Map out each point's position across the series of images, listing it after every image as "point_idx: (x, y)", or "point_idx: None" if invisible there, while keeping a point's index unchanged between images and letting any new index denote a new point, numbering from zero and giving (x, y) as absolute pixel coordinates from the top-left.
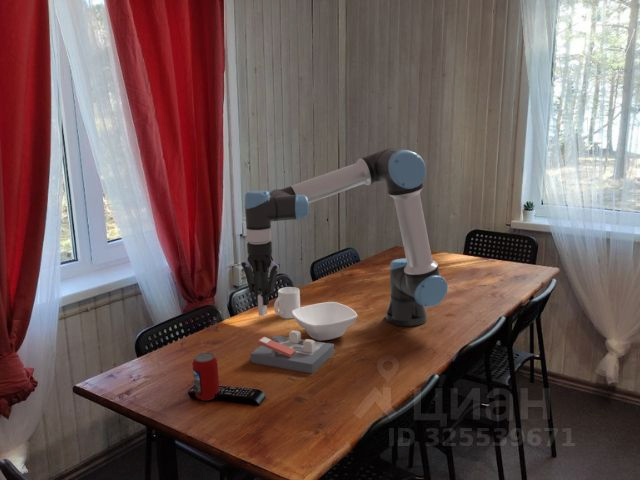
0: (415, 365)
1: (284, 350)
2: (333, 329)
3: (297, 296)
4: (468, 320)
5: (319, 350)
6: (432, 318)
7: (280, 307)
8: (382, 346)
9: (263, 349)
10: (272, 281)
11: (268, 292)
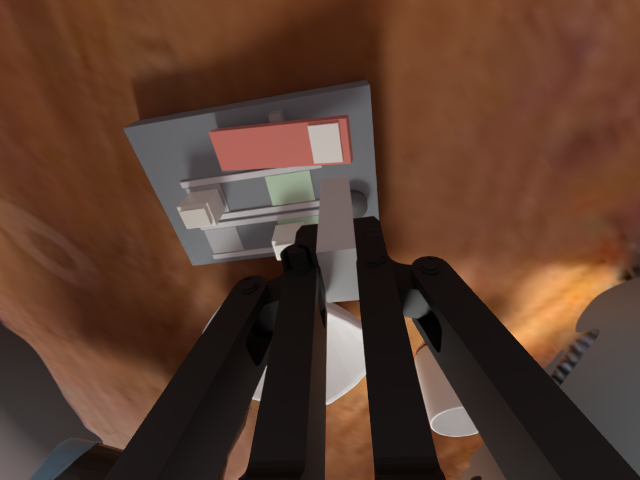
0: (14, 275)
1: (237, 138)
2: None
3: (427, 407)
4: (125, 428)
5: None
6: None
7: None
8: (145, 315)
9: None
10: (164, 398)
11: (244, 288)
